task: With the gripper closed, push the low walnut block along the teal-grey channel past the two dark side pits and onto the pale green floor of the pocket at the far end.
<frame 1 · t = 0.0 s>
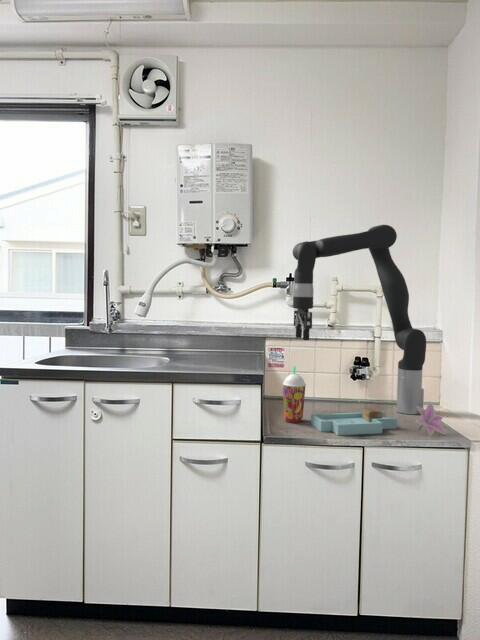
hand: (302, 339, 197), 29 cm above the worktop, tool pointing down, fingers open, 8 cm apart
walnut block: (371, 419, 186), point 2 cm above the worktop, touching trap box
smoothie: (293, 421, 191), on the worktop
lily: (428, 433, 178), on the worktop
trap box: (353, 426, 185), on the worktop
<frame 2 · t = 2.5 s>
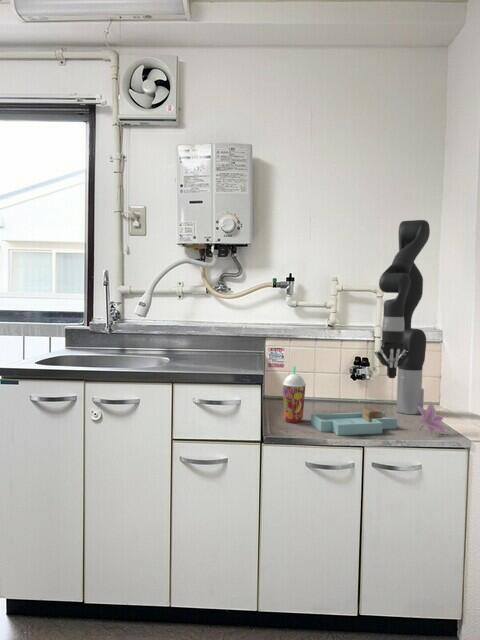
hand: (391, 377, 187), 17 cm above the worktop, tool pointing down, fingers closed
nothing on the worktop moved.
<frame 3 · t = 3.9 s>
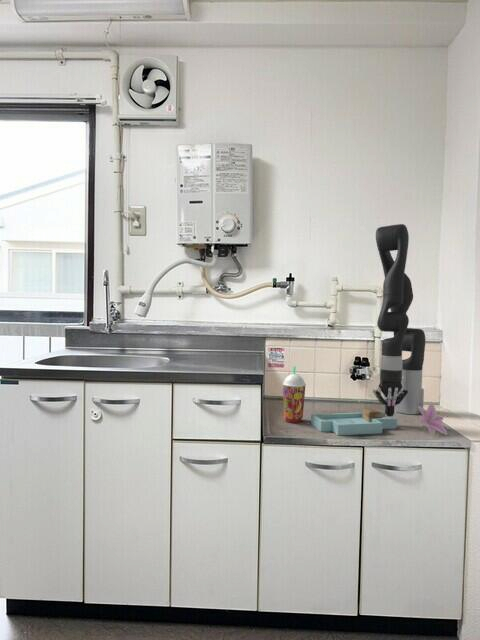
hand: (389, 415, 188), 3 cm above the worktop, tool pointing down, fingers closed
nothing on the worktop moved.
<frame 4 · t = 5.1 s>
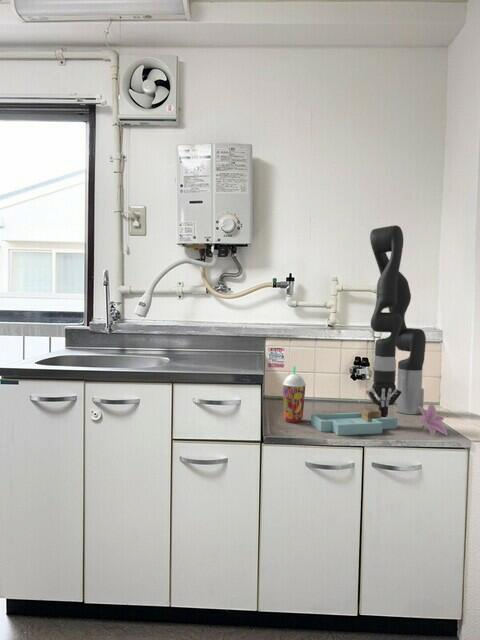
hand: (383, 416, 187), 3 cm above the worktop, tool pointing down, fingers closed
walnut block: (371, 419, 186), point 2 cm above the worktop, touching gripper
everything else where it was.
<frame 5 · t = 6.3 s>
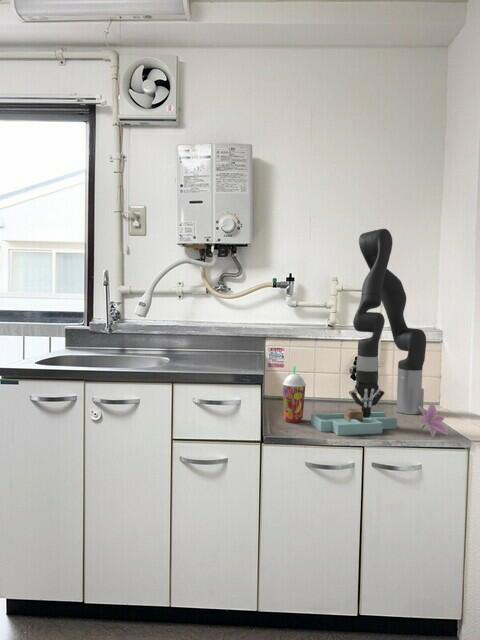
hand: (365, 417, 185), 3 cm above the worktop, tool pointing down, fingers closed
walnut block: (353, 420, 185), point 2 cm above the worktop, touching gripper, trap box
everything else where it was.
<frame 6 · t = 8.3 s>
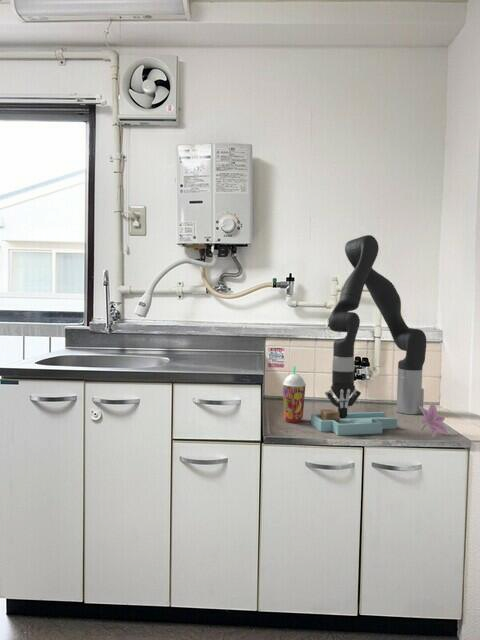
hand: (342, 417, 184), 3 cm above the worktop, tool pointing down, fingers closed
walnut block: (329, 421, 184), point 2 cm above the worktop, touching gripper, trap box
everything else where it was.
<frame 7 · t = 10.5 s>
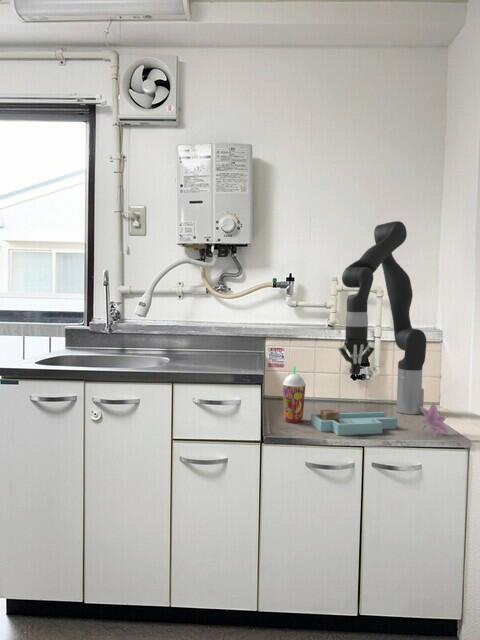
hand: (355, 374, 184), 19 cm above the worktop, tool pointing down, fingers closed
walnut block: (329, 421, 184), point 2 cm above the worktop, touching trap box
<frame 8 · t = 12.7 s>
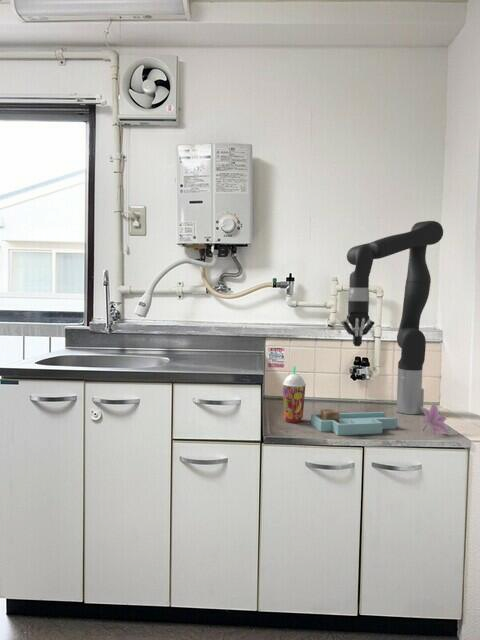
hand: (357, 346, 196), 27 cm above the worktop, tool pointing down, fingers closed
at the end: walnut block 1.9 cm from the target spot on the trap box, point 2.0 cm above the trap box's base; walnut block tilted 0° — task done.
